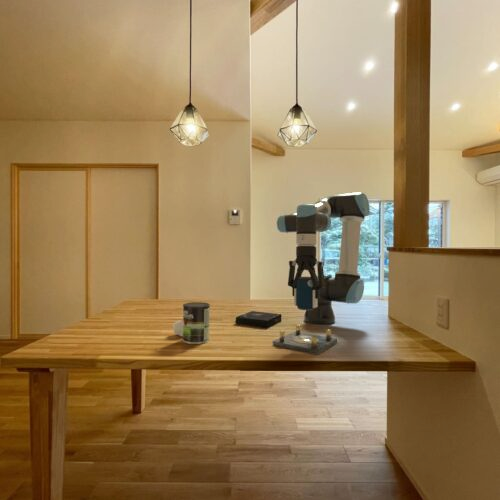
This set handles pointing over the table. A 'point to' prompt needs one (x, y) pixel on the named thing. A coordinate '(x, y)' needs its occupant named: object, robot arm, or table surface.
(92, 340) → the table surface
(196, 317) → the coffee can
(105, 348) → the table surface
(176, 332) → the duck figurine
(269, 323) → the portable cd player
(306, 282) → the soda can
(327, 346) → the chassis plate
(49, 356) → the table surface
